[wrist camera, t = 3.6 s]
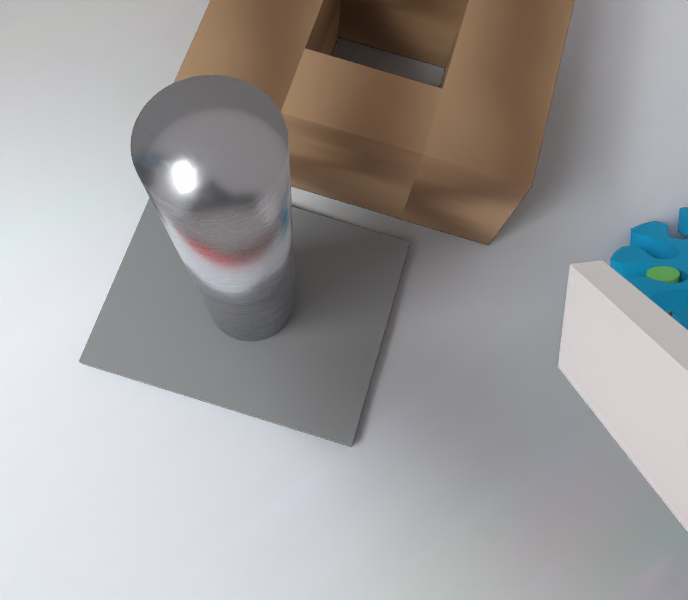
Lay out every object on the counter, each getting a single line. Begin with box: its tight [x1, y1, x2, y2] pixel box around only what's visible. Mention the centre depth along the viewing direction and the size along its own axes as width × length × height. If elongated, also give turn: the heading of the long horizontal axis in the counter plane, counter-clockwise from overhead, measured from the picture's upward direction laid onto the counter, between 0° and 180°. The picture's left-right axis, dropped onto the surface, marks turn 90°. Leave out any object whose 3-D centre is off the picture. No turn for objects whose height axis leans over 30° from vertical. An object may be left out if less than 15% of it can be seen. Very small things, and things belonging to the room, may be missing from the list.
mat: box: [79, 198, 410, 447], centre depth 24 cm, size 10×8×1 cm
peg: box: [131, 75, 296, 341], centre depth 19 cm, size 3×3×11 cm
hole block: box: [175, 0, 574, 245], centre depth 25 cm, size 12×10×5 cm
